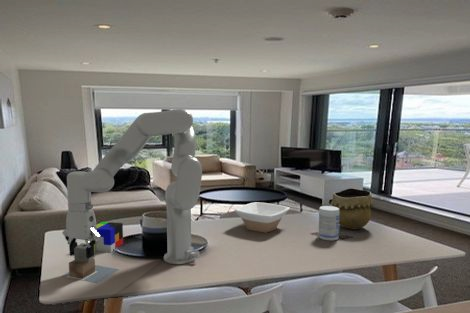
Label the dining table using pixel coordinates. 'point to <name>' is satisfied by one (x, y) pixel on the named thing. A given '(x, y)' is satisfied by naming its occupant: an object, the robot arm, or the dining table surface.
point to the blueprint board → (96, 274)
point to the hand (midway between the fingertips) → (82, 255)
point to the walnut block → (81, 269)
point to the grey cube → (82, 253)
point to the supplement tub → (328, 223)
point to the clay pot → (353, 207)
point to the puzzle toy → (109, 236)
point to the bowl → (261, 216)
